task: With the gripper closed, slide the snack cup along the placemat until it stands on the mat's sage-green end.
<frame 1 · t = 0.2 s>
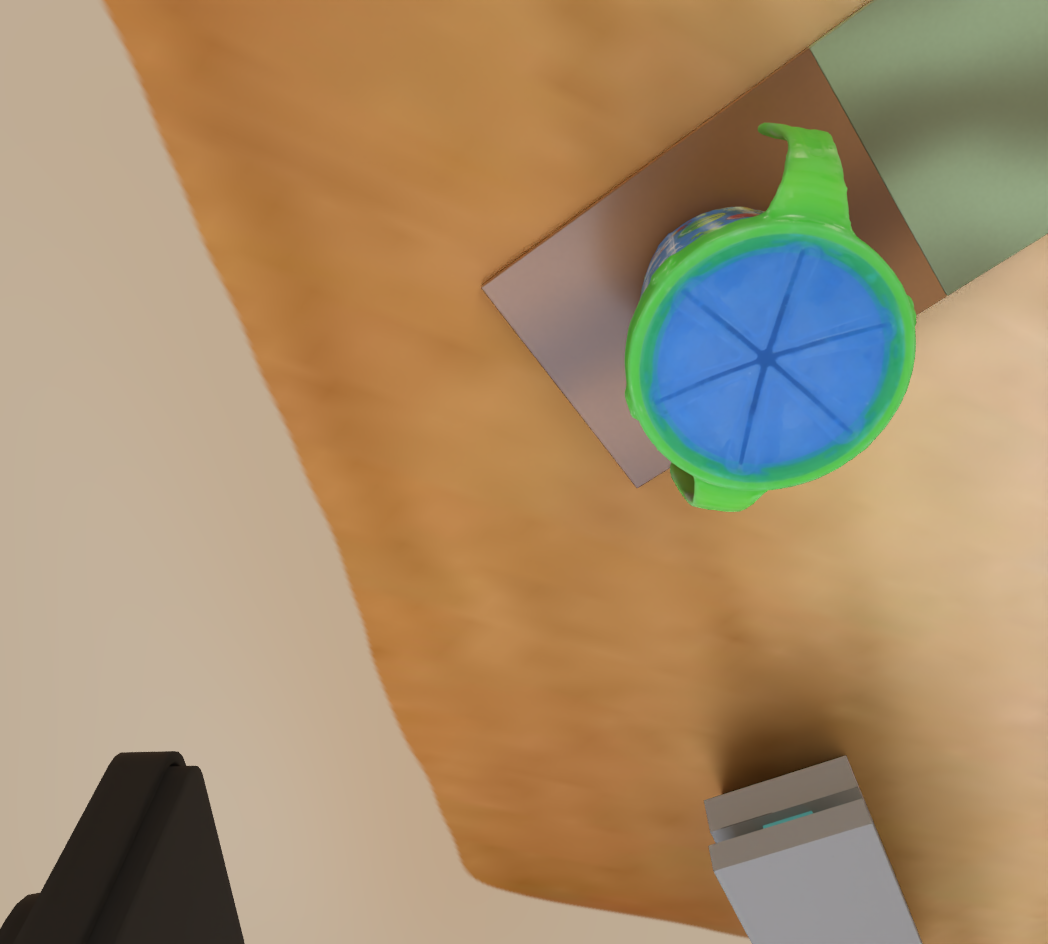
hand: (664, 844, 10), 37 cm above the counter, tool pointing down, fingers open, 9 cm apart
sharpening stone: (810, 834, 62), on the counter
snack cup: (722, 284, 45), resting on placemat
placemat: (818, 218, 44), on the counter
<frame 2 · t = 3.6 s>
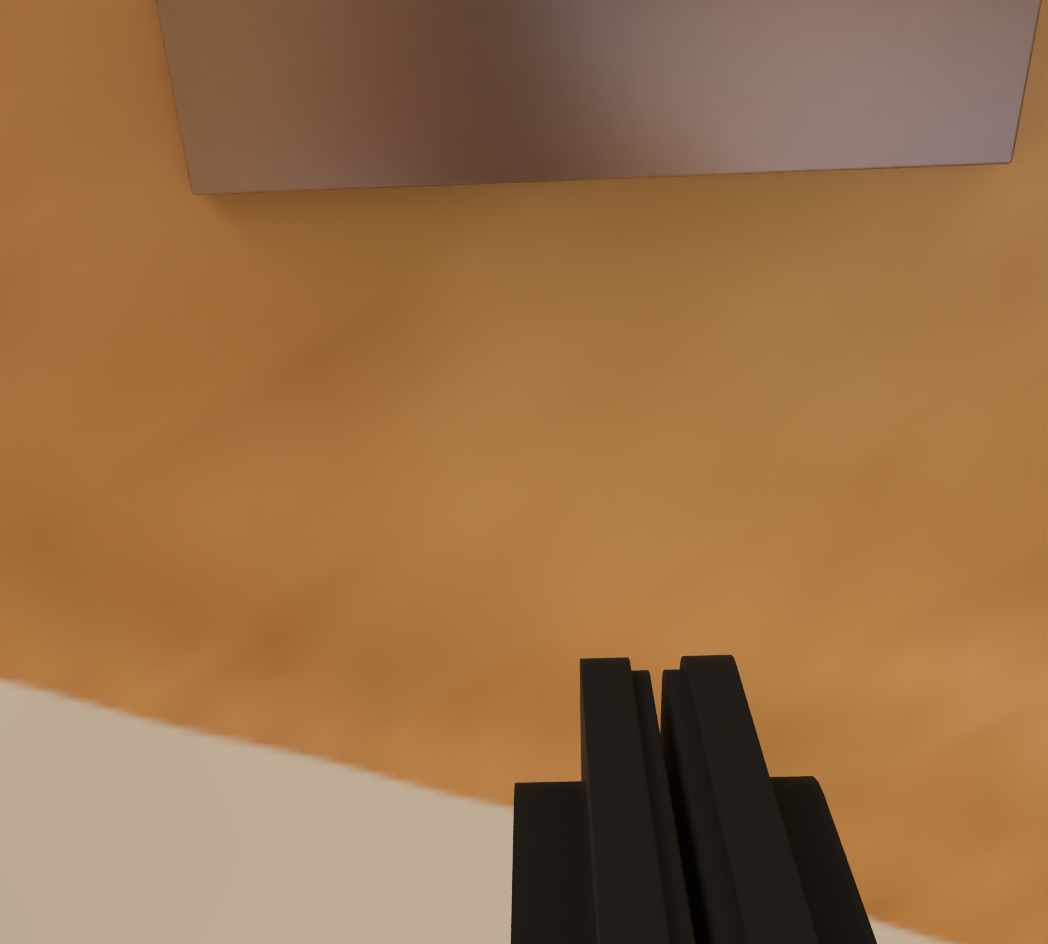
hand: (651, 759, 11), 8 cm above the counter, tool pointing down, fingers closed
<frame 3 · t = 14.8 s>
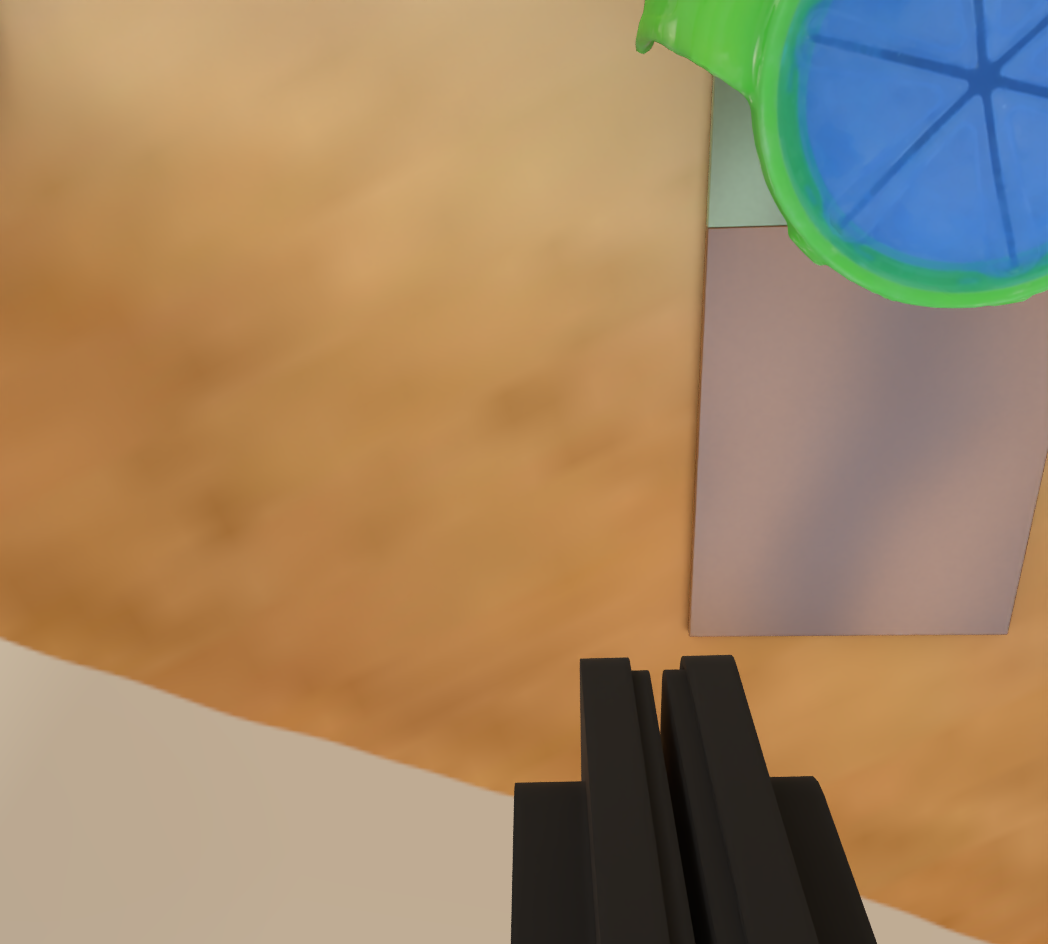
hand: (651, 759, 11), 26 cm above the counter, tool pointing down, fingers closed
snack cup: (871, 53, 31), resting on placemat
placemat: (887, 305, 35), on the counter
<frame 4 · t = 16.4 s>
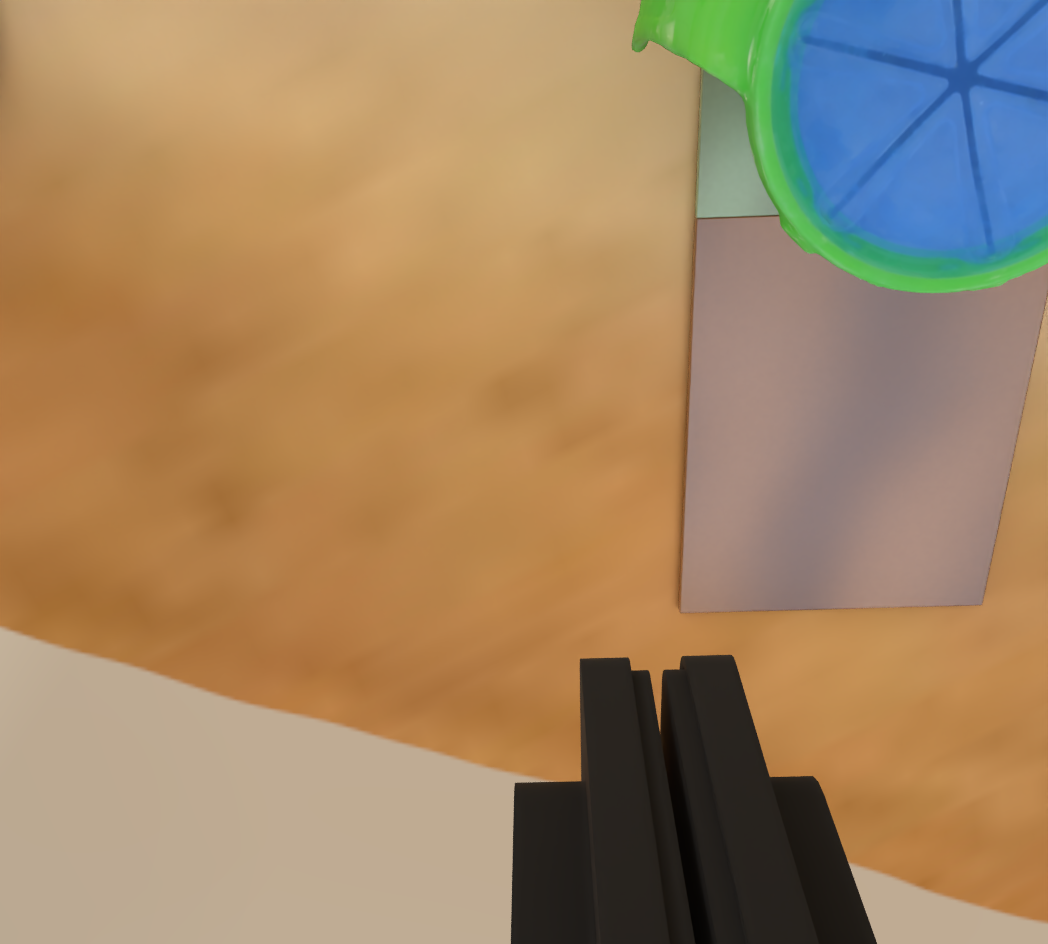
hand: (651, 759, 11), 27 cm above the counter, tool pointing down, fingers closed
snack cup: (851, 50, 32), resting on placemat
placemat: (867, 291, 36), on the counter
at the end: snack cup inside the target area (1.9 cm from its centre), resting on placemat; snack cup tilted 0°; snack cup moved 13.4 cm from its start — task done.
